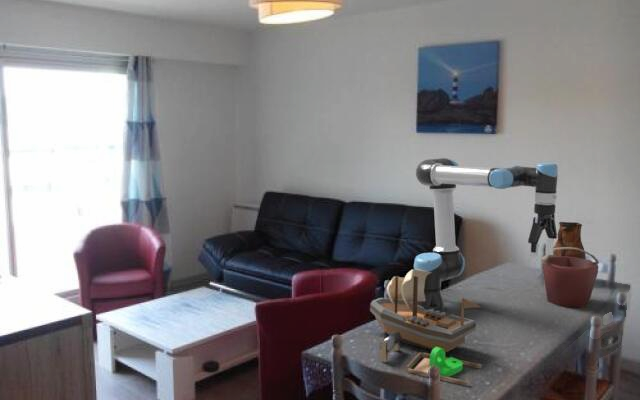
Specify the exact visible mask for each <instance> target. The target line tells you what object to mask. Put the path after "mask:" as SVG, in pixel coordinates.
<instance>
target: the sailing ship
mask: <svg viewBox="0 0 640 400" xmlns="http://www.w3.org/2000/svg"><path fill="white" fill-rule="evenodd" d="M430 273H432V272H428V271H423V270H419V269H414V268H413V269H411V270H409V271H408V272H407V273H406V275H405V276H404V277H403V276H402V277H400V276H398V275H395V276H393V277H392V278H391V280H389V282H388V284H387V285H386V293H387V297H388V298H387V297H378V298H376V299H373V300H371V302H370V303H369V311H370V312H371V313H372V315H374V317H375V319H376V321H377V323H378V326H379V327H380V328H381V329H382V330H383V331H384V332H385V333H386V334H388V336H389V335H391V334H392V333H393V332H394V331H395V330H396V331H400V334H401V337H402V339H401V341H400V342H402V343H406V344H409V345H412V346H414V347H418V348H421V349H425V350H428V351H431V352H432V350H433V349H434V348H435V347H439V348H442V349H444V350H445V353H448V352H449V351H452V350H453V349H455V348H457V347H459V346H460V345H463V344H464V343H466V342H465V341H466V336H467V335H469V334H471V333H473V332H474V331H476V328H477V327H476V325H477V322H476V320H474V319H471V318H465V308H467V309H470V308H481V306H480V305H478V304H476V303H474V302H473V301H471V300H468V299H467V298H465V297H462V299H461V312H460V314H461V315H460V316H457V315H453V314H450V315H448V316H447V317H446V316H445V315H446V314H447V313H446V311H434V309H430V310H427V311H426V310H425V309H424V308H423V307H421V306H419V305H417V302H419V301H426V300H425V295H424V285H425V279H426V277H427V275H428V274H430ZM412 302H413V303H412Z"/></svg>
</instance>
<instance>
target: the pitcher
mask: <svg viewBox="0 0 640 400" xmlns="http://www.w3.org/2000/svg"><path fill="white" fill-rule="evenodd" d="M558 224H559V227H558V228H559V229H558V232H557V240H556V242H555V244H554V245H553V248H559V247H573V248H579V249H581V250H584V251H585V247H584V245H583V243H582V235H581V233H582V227H583V224H581V223H580V222H575V221H574V222H570V221H568V222H566V221H560V222H558ZM562 256H569V257H575V258H581V259H586V260H587V258H586V253H584V252H581V251H579V250H571V249H566V250H558V251H553V255H551V256H550V257H562Z"/></svg>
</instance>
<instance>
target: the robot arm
mask: <svg viewBox="0 0 640 400" xmlns="http://www.w3.org/2000/svg"><path fill="white" fill-rule="evenodd" d="M558 171H559V169H558V164H556V163H554V162H553V163H552V162H538V163H537V164H536V167H531V166H521V165H511V166H509V167H506V168H505V167H501V168H500V167H483V166H482V167H480V166H459V164H458V163H457V162H456V161H455V160H454V159H452V158H449V157H448V158H445V157H443V158H442V157H441V158H433V159H431V158H428V159H425V160H423V161H421V162H420V163H419V164H418V165H417V167H416V169H415V175H416V176H415V177H416V179H417V181H418V182H419V183H420V184H421V185H423V186H426V187H428V188H429V191H431V192H432V194H433V195H432V197H433V212H434V230H435V246H434V248H433V249H432V252H423V253H420V254H418V255H416V256H415V258H414V263H413V269H419V270H423V271H428V272H432V273H430V274H428V275H427V277H426V279H425V285H424V295H425V300H426V301H419V302H417V305H419V306H421V307H423V308H424V309H425V310H426V311H427V310H430V309H434V311H440V312H444V309H445V302H444V298H443V295H442V292H441V291H442V290H441V287H442V282H444V281H447V280H451V279H454V278H457V277H458V276H460V275H461V274H463V272H464V270H465V268H466V260H465V257H464V256H463V254H462V253H461V252H460V248H459V247H458V246H457V245H456V229H455V225H456V224H455V211H454V209H455V208H454V205H455V204H454V192H455V190H456V189H457V185H458V186H472V187H473V186H475V187H488V188H494V189H498V190H500V189H501V190H505V189H509V188H517V187H532V188H535V191H534V192H535V193H534V203H535V204H534V208H533V212H534V214H537V217H533V218H532V225H531V229H530V233H529V237H528V240H527V242H528V244H530V251H529V253H530V254H529V256H530V257H529V260H530V261H534V262H538V260H539V246H540V245H539V241H540V238H541V236H542V233H543V231H545V234H546V236H547V237H546V239H545V255H546V254H548V255H553V248H554V246H555V244H554V243H555V240H556V239H558V232H557V227H556V225H557V224H556V221H555V218H556V217H555V216H556V215H555V214H556V201H557V198H558V195H557V185H558V176H559V174H558ZM412 303H413V302H412Z"/></svg>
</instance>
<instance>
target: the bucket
mask: <svg viewBox="0 0 640 400" xmlns="http://www.w3.org/2000/svg"><path fill="white" fill-rule="evenodd" d="M566 249H571V250H579V251H581V252H584V253H585V255H588V256H590V257H591V258H592V259H593V260H594V262H593V261H592V260H591V259H587V258H586V259H581V258H575V257H569V256H562V257H550V256H551V255H548V254H545V255H544V256H542V257H541V258H540V261H541V262H542V272H543V273H542V274H543V279H544V280H543V281H544V286H545V293H546V300H547V303H548V302H549V303H551V304H553V305H555V306H558V307H562V308H563V307H564V308H572V309H573V308H574V309H580V308H585V307H587V306H589V303H590V299H591V297H592V293H593V290H594V287H595V284H596V280H597V277H598V273H599V263H600V261H599V259H598V258H596V256H595V255H593V254H592V253H589V252H587V251H586V250H585V249H584V250H581V249H579V248H573V247H559V248H554V247H553V251H558V250H566Z"/></svg>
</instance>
